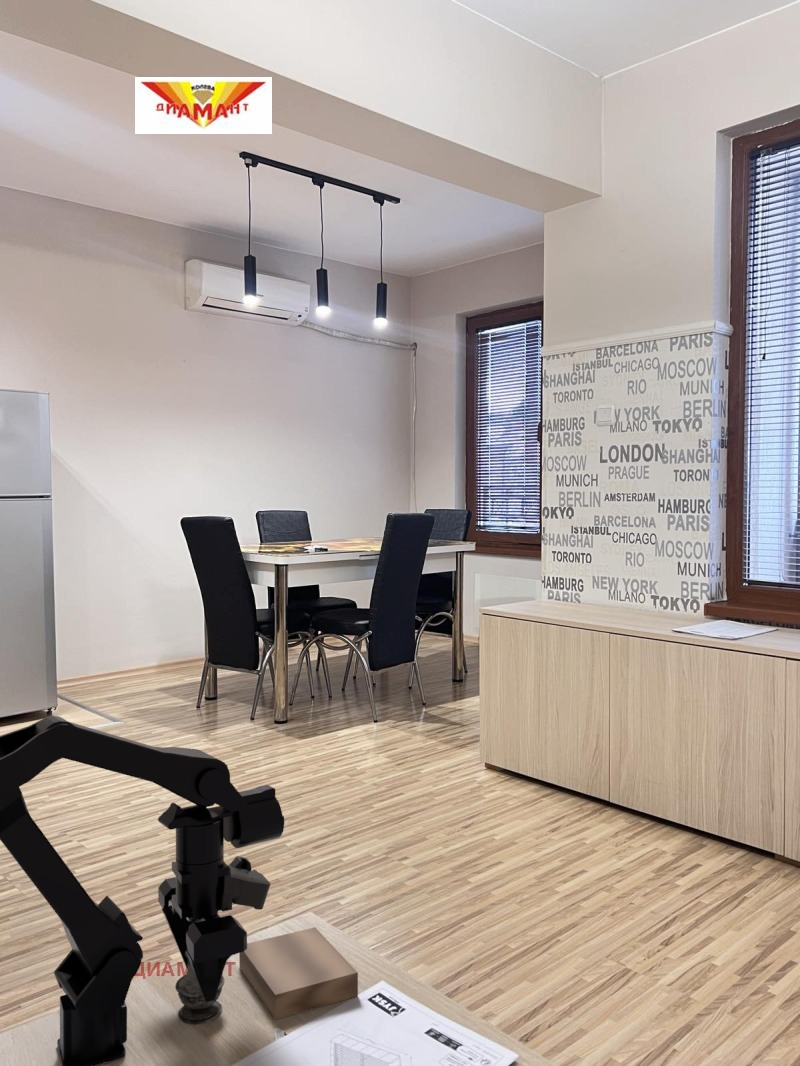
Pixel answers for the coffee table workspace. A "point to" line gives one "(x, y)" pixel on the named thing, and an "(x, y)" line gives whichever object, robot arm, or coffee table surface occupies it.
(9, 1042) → the coffee table surface
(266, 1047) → the coffee table surface
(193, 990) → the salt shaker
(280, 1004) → the block
